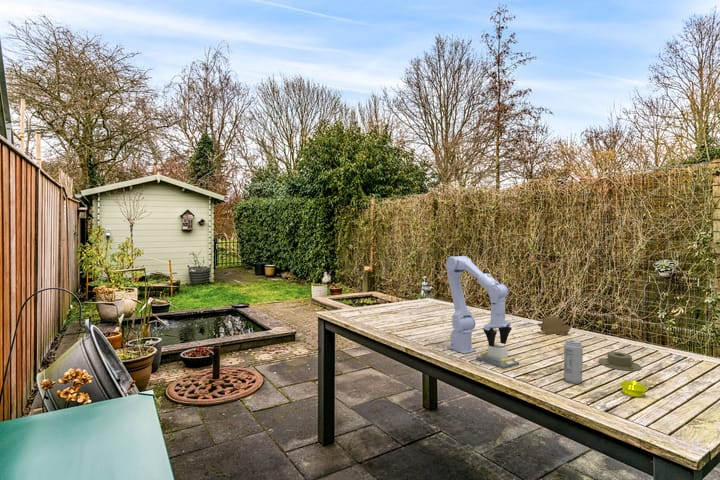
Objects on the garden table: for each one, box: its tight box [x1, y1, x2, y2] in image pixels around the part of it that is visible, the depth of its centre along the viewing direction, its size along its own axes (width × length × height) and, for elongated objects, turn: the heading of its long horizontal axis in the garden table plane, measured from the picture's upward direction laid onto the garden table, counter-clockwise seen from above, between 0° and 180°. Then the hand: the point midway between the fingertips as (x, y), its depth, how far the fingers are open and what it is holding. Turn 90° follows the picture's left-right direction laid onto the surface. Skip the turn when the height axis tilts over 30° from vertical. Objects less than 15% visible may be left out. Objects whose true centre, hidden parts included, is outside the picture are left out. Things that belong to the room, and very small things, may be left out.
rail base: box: [476, 351, 520, 370], centre depth 166 cm, size 14×10×3 cm
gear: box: [619, 379, 648, 398], centre depth 134 cm, size 8×4×8 cm
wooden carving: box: [537, 315, 572, 335], centre depth 212 cm, size 16×5×10 cm, turn 80°
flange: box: [598, 351, 642, 372], centre depth 163 cm, size 5×15×15 cm
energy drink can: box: [563, 338, 584, 385], centre depth 145 cm, size 6×6×15 cm
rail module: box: [487, 343, 509, 360], centre depth 166 cm, size 7×4×5 cm, turn 32°
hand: (497, 344), depth 166 cm, fingers open, 7 cm apart
